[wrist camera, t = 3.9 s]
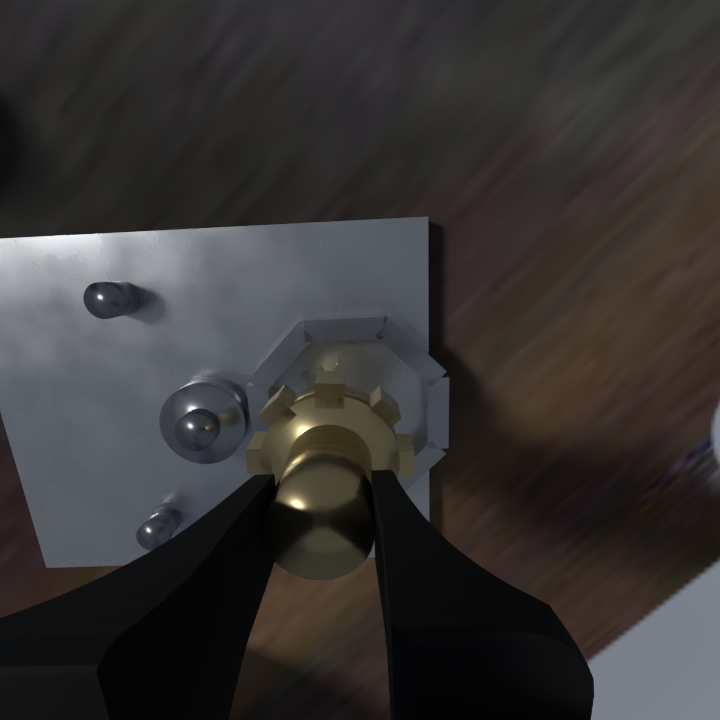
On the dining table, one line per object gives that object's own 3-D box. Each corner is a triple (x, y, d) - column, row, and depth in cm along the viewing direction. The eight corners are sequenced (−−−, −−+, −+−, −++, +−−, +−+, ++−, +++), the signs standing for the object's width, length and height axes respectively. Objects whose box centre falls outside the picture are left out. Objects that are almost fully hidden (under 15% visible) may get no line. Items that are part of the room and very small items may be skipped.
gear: (405, 510, 16) (424, 624, 11) (261, 508, 16) (215, 620, 11) (413, 372, 14) (438, 433, 9) (252, 369, 14) (194, 429, 9)
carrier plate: (439, 542, 22) (451, 588, 19) (59, 555, 23) (10, 602, 20) (440, 218, 18) (456, 208, 15) (-29, 242, 19) (-111, 238, 15)
